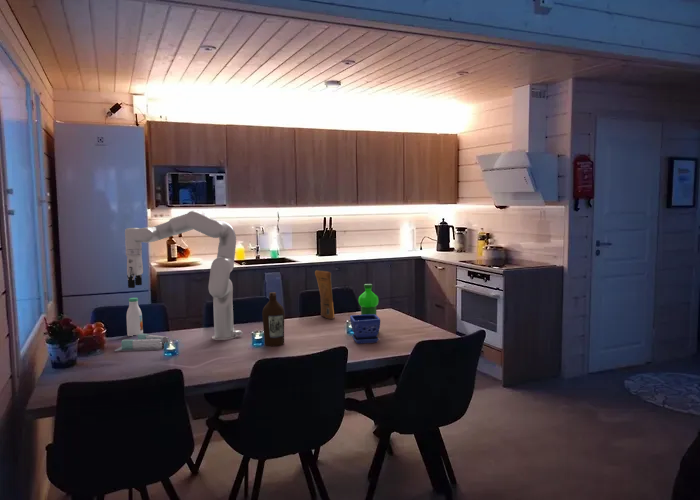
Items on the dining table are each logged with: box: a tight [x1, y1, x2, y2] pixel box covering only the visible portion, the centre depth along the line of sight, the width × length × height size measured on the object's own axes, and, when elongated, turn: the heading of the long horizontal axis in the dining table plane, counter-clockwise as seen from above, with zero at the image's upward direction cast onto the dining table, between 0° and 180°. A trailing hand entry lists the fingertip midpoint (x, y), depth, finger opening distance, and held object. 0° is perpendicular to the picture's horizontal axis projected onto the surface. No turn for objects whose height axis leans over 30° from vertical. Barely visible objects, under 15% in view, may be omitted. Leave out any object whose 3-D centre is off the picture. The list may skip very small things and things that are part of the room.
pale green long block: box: [120, 336, 169, 350], centre depth 260 cm, size 21×4×5 cm, turn 92°
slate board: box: [114, 338, 182, 352], centre depth 267 cm, size 26×20×1 cm
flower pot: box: [349, 314, 381, 345], centre depth 266 cm, size 13×13×12 cm
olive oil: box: [261, 291, 285, 347], centre depth 265 cm, size 11×11×25 cm
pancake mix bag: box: [314, 269, 335, 320], centre depth 329 cm, size 7×19×28 cm, turn 25°
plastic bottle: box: [357, 283, 379, 328], centre depth 285 cm, size 10×10×25 cm
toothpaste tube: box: [137, 332, 170, 346], centre depth 268 cm, size 19×3×4 cm, turn 64°
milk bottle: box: [126, 297, 144, 337], centre depth 292 cm, size 8×8×20 cm
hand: (135, 286), depth 277 cm, fingers open, 9 cm apart
